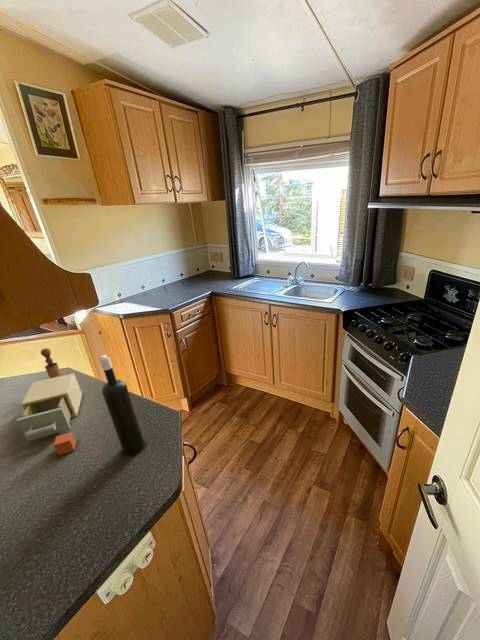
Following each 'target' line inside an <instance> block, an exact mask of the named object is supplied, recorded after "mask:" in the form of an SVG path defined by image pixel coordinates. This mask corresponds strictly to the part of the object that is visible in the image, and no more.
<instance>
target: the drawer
mask: <svg viewBox="0 0 480 640" xmlns="http://www.w3.org/2000/svg"><path fill="white" fill-rule="evenodd" d="M71 414H72V410H71V408H70V405H69V403H68V401H67V398H66V396H61V397H57V398H53V399H48V400H44V401H40V402H36V403H32V404H28V405H27V407H26V409H25V411H24V410H23V413H22V416H21V417H17V419H16V423H17V425H18V426H19V429H20V431H21V433H22V434H23V436H24V438H25V440H26V441H27V442H30V441H32V440H33V441H34V440H35V439H39V438H44V437H47V436H50V435H54V434H58V433H62V432H64V431H69V430H71V428H72V427H71V425H70V420H71V418H72V417H71ZM70 417H71V418H70Z"/></svg>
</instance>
